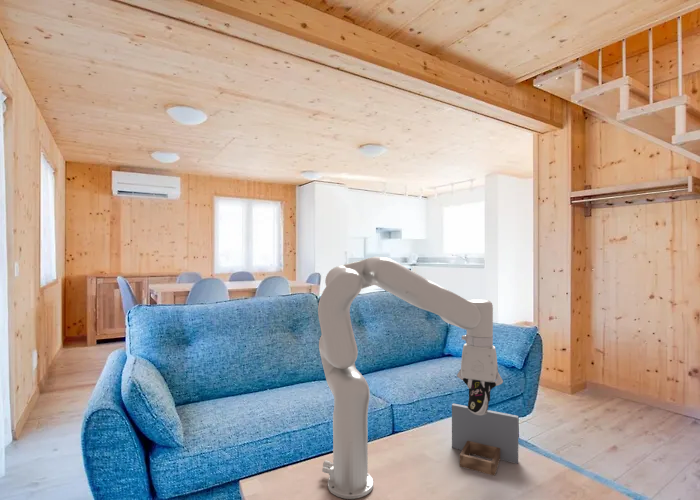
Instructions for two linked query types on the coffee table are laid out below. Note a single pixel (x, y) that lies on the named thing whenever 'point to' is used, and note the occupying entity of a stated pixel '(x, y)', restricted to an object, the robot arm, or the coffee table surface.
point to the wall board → (486, 431)
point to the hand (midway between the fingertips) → (479, 401)
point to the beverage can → (479, 397)
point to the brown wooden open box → (479, 463)
